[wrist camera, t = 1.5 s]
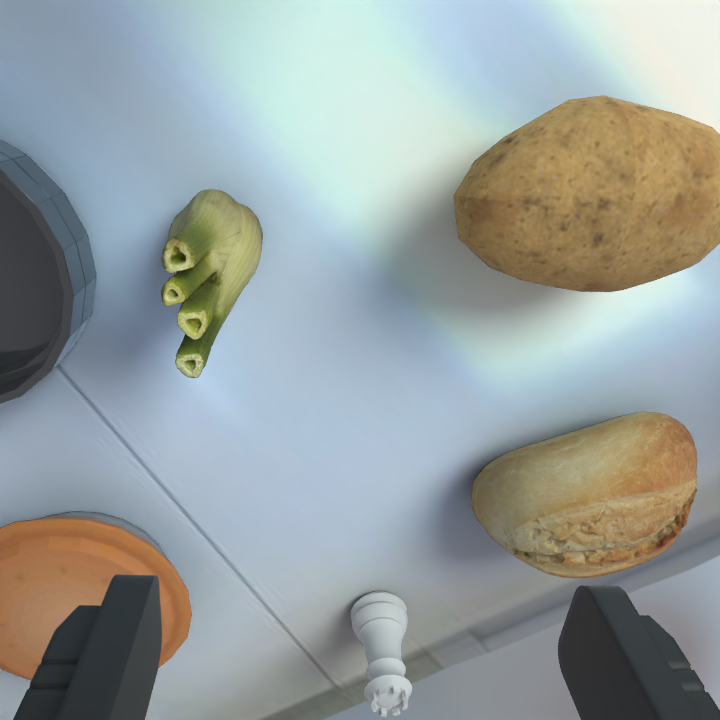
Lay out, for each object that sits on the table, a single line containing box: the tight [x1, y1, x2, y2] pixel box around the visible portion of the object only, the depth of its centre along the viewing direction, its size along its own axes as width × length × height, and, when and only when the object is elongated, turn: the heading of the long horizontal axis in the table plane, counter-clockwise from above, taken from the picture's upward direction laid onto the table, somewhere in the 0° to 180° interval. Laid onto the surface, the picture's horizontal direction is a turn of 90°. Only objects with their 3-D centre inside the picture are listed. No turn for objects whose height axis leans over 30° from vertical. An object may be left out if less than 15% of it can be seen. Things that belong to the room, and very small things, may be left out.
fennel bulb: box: [161, 190, 263, 378], centre depth 29 cm, size 6×5×12 cm
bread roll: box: [471, 412, 697, 578], centre depth 39 cm, size 10×15×8 cm, turn 113°
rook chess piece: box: [351, 591, 412, 717], centre depth 43 cm, size 4×4×8 cm
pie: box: [0, 511, 192, 680], centre depth 41 cm, size 15×16×5 cm
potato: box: [454, 96, 720, 292], centre depth 31 cm, size 10×14×8 cm
